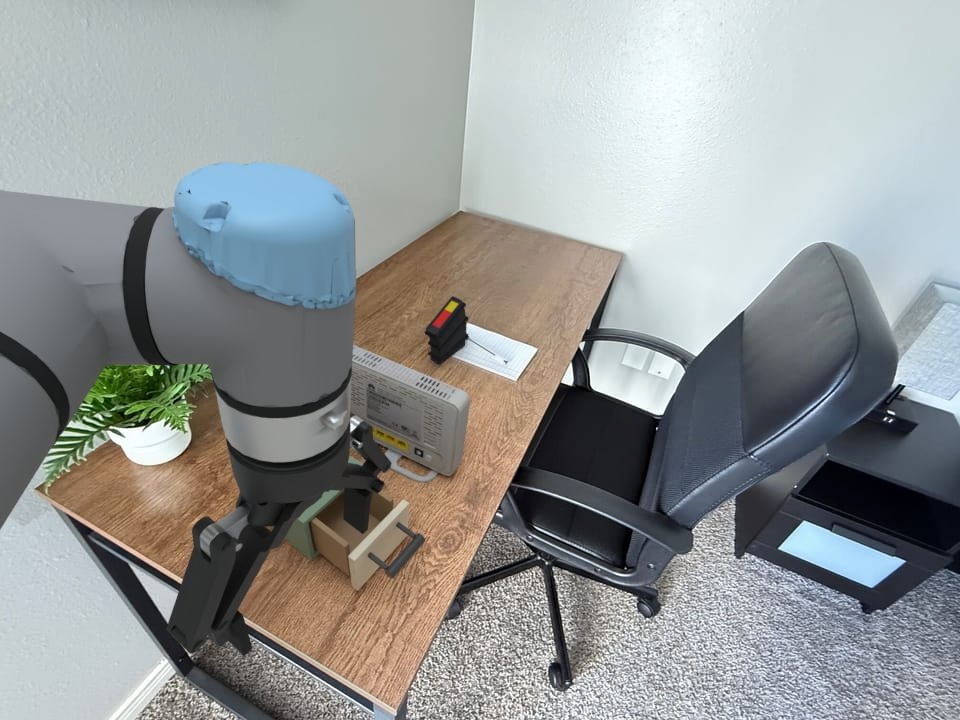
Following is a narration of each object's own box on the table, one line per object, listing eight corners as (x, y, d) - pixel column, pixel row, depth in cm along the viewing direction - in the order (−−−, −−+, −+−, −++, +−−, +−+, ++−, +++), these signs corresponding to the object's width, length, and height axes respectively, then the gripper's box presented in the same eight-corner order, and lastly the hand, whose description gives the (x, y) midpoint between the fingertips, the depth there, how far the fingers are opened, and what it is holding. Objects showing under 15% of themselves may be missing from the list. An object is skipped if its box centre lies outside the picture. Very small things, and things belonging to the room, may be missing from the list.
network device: (466, 462, 90) (477, 386, 78) (444, 495, 84) (452, 418, 71) (357, 412, 97) (352, 334, 85) (329, 439, 91) (319, 359, 78)
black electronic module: (474, 335, 120) (464, 300, 108) (445, 374, 116) (431, 342, 103) (463, 329, 122) (451, 294, 109) (433, 367, 117) (418, 335, 104)
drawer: (432, 551, 74) (435, 521, 69) (383, 612, 66) (382, 583, 61) (348, 491, 81) (345, 459, 76) (295, 539, 73) (287, 507, 68)
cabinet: (369, 505, 80) (367, 466, 74) (311, 561, 72) (303, 523, 65) (311, 463, 86) (304, 423, 79) (250, 510, 77) (237, 471, 70)
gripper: (112, 627, 20) (200, 747, 33) (447, 360, 38) (418, 507, 51) (20, 526, 22) (137, 676, 35) (377, 320, 40) (366, 470, 53)
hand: (303, 576), depth 43 cm, fingers open, 13 cm apart
